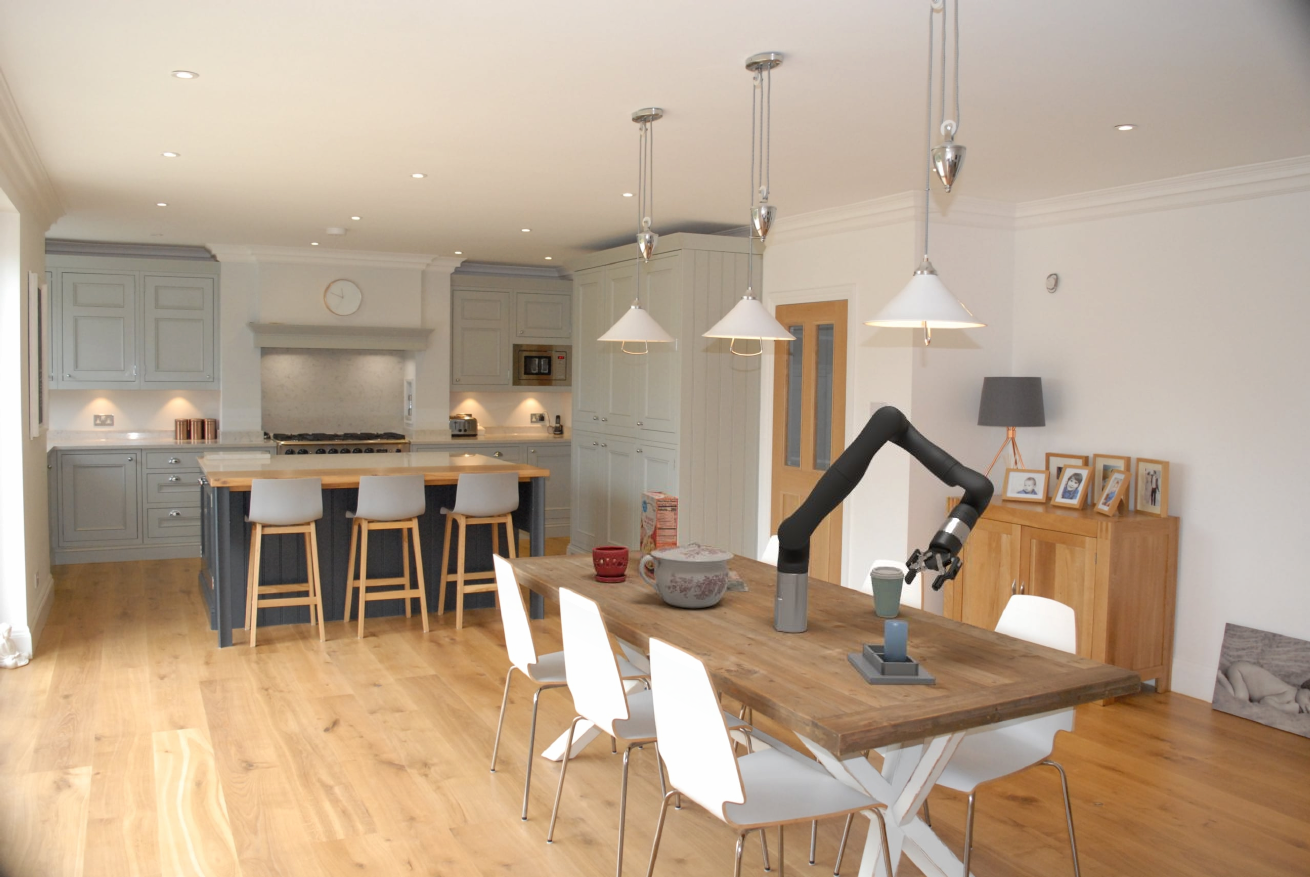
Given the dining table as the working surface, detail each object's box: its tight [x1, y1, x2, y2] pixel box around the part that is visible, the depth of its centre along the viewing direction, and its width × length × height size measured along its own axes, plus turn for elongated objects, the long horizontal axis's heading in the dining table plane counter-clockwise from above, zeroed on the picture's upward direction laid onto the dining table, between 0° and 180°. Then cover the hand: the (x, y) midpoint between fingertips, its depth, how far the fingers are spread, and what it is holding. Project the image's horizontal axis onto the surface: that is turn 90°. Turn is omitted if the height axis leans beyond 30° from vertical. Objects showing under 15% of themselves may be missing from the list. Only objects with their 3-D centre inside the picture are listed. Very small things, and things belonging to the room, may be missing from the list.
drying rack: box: [846, 643, 936, 686], centre depth 244 cm, size 16×22×4 cm
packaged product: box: [726, 570, 749, 592], centre depth 346 cm, size 18×5×10 cm
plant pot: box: [592, 545, 630, 583], centre depth 351 cm, size 13×13×12 cm
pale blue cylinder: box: [883, 619, 909, 663], centre depth 240 cm, size 6×6×12 cm
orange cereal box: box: [639, 491, 679, 581], centre depth 366 cm, size 23×8×30 cm, turn 15°
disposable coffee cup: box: [869, 566, 906, 619], centre depth 306 cm, size 11×11×15 cm
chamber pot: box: [637, 540, 735, 610], centre depth 315 cm, size 28×28×21 cm
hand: (920, 585), depth 249 cm, fingers open, 8 cm apart
